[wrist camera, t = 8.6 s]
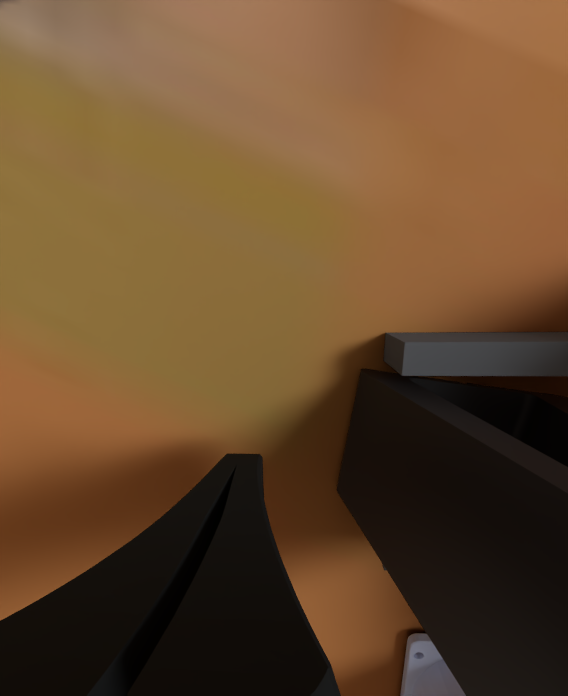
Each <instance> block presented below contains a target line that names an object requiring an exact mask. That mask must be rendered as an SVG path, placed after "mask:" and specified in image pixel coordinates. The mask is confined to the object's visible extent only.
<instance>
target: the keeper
mask: <svg viewBox="0 0 568 696" xmlns="http://www.w3.org/2000/svg"><path fill="white" fill-rule="evenodd" d="M384 361H385V362H386V363H387V364H388V365H390V366H391V367H392V368H393V369H394V370H396V371H397V372H398V373H399V374H400V375H402V376H568V332H446V333H386V334H385V348H384ZM382 565H383V563H382ZM383 568H384V570H386V568H385V567H384V565H383Z"/></svg>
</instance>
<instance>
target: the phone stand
mask: <svg viewBox="0 0 568 696" xmlns="http://www.w3.org/2000/svg"><path fill="white" fill-rule="evenodd" d="M337 492H338V494H339V495H340V497H341V498H342V500H343V502H344V503H345V505H346V506H347V508H348V509H349V511H350V513H351V514H352V516H353V517H354V519H355V521H356V522H357V524H358V525H359V527H360V528H361V530H362V532H363V533H364V535H365V536H366V538H367V540H368V541H369V543H370V544H371V546H372V547H373V549H374V551H375V552H376V554H377V555H378V557H379V559H380V560H381V562H382V563H383V565H384V567H385V568H386V570H387V571H388V573H389V574H390V576H391V578H392V579H393V581H394V582H395V584H396V586H397V587H398V589H399V590H400V592H401V593H402V595H403V597H404V598H405V600H406V601H407V603H408V605H409V606H410V608H411V609H412V611H413V613H414V614H415V616H416V617H417V619H418V620H419V622H420V624H421V625H422V627H423V628H424V630H425V632H426V633H427V635H428V636H429V638H430V639H431V641H432V643H433V644H434V646H435V647H436V649H437V651H438V652H439V654H440V655H441V657H442V658H443V660H444V662H445V663H446V665H447V666H448V668H449V670H450V671H451V673H452V674H453V676H454V678H455V679H456V681H457V682H458V684H459V685H460V687H461V689H462V690H463V692H464V693H465V695H466V696H568V397H564V396H558V395H551V394H544V393H537V392H529V391H522V390H515V389H508V388H500V387H493V386H486V385H479V384H472V383H467V384H464V383H460V382H457V381H450V380H443V379H435V378H428V377H421V376H402V375H400V374H399V373H392V372H385V371H378V370H370V369H361V373H360V378H359V383H358V388H357V392H356V397H355V402H354V407H353V412H352V417H351V421H350V426H349V431H348V436H347V441H346V446H345V450H344V455H343V460H342V465H341V470H340V475H339V479H338V484H337Z"/></svg>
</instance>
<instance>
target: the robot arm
mask: <svg viewBox="0 0 568 696" xmlns="http://www.w3.org/2000/svg"><path fill="white" fill-rule="evenodd" d="M0 696H341V695H340V692H339V689H338V686H337V683H336V680H335V676H334V673H333V670H332V667H331V664H330V662H329V660H328V658H327V656H326V654H325V653H324V651H323V649H322V647H321V645H320V643H319V641H318V639H317V637H316V635H315V633H314V631H313V629H312V627H311V625H310V623H309V621H308V619H307V617H306V615H305V613H304V611H303V609H302V607H301V604H300V602H299V600H298V598H297V596H296V593H295V591H294V589H293V586H292V584H291V581H290V579H289V577H288V574H287V572H286V569H285V567H284V565H283V562H282V559H281V557H280V554H279V551H278V548H277V545H276V542H275V539H274V536H273V533H272V530H271V526H270V523H269V519H268V515H267V511H266V507H265V502H264V488H263V459H262V456H261V455H260V454H226V455H225V456H224V457H223V458H222V459H221V460H220V461H219V462H218V463H217V464H216V466H215V467H214V468H213V469H212V470H211V471H210V472H209V473H208V474H207V475H206V476H205V477H204V478H203V479H202V480H201V481H200V482H199V483H198V484H197V485H196V486H195V487H194V488H193V489H192V490H191V491H190V492H189V493H188V494H187V495H186V496H184V497H183V498H182V499H181V500H180V501H179V502H178V503H177V504H176V505H175V506H173V507H172V508H171V509H170V510H169V511H168V512H167V513H166V514H164V515H163V516H162V517H161V518H160V519H158V520H157V521H156V522H155V523H153V524H152V525H151V526H150V527H148V528H147V529H146V530H144V531H143V532H142V533H141V534H139V535H138V536H137V537H135V538H134V539H133V540H131V541H130V542H128V543H127V544H126V545H124V546H123V547H121V548H120V549H118V550H117V551H115V552H114V553H112V554H111V555H109V556H108V557H107V558H105V559H104V560H102V561H101V562H99V563H98V564H96V565H95V566H93V567H92V568H90V569H89V570H87V571H86V572H84V573H82V574H81V575H79V576H78V577H76V578H74V579H73V580H71V581H70V582H68V583H66V584H65V585H63V586H61V587H60V588H58V589H56V590H54V591H53V592H51V593H49V594H48V595H46V596H44V597H43V598H41V599H39V600H37V601H36V602H34V603H32V604H30V605H29V606H27V607H25V608H23V609H21V610H20V611H18V612H16V613H14V614H12V615H10V616H8V617H7V618H5V619H3V620H1V621H0ZM400 696H466V695H465V693H464V692H463V690H462V689H461V687H460V685H459V684H458V682H457V681H456V679H455V678H454V676H453V674H452V673H451V671H450V670H449V668H448V666H447V665H446V663H445V662H444V660H443V658H442V657H441V655H440V654H439V652H438V651H437V649H436V647H435V646H434V644H433V643H432V641H431V639H430V638H429V636H428V635H427V634H423V633H414V634H411V635H410V636H409V637H408V640H407V647H406V655H405V663H404V671H403V679H402V687H401V695H400Z"/></svg>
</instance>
